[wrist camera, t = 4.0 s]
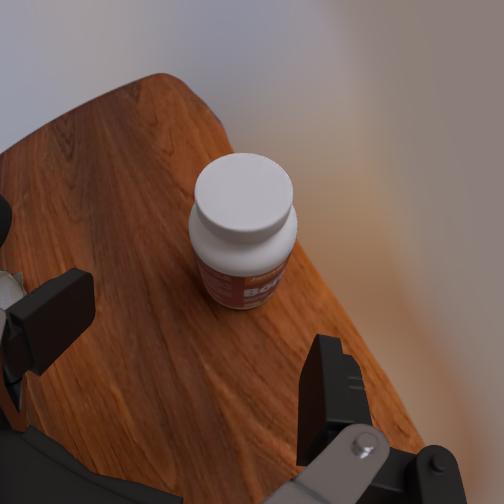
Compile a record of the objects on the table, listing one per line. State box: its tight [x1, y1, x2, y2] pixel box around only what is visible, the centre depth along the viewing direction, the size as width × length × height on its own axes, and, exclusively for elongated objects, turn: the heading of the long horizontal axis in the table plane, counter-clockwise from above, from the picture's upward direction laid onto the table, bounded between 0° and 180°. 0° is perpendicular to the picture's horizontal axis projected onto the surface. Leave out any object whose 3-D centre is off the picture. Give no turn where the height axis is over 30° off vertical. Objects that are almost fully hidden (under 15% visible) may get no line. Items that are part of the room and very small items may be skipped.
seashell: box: [0, 270, 27, 310], centre depth 19 cm, size 8×3×8 cm
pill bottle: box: [189, 153, 298, 309], centre depth 19 cm, size 6×6×11 cm
